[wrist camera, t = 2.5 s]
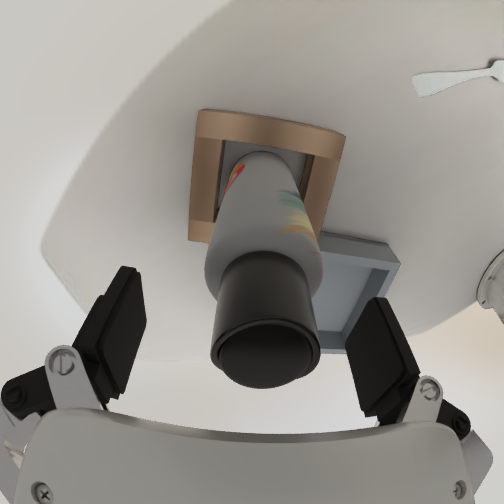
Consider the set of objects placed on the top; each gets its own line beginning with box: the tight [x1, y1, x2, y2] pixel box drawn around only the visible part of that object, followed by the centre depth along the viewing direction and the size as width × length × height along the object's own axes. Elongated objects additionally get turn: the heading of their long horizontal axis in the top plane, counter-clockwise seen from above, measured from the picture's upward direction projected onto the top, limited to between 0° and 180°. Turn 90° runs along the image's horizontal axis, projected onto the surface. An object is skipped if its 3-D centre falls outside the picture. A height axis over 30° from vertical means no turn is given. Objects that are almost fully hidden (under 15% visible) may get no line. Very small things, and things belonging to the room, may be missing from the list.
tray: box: [312, 232, 401, 354], centre depth 31 cm, size 15×15×4 cm
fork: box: [411, 60, 504, 97], centre depth 17 cm, size 3×21×3 cm, turn 117°
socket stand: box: [188, 109, 346, 243], centre depth 24 cm, size 12×12×3 cm
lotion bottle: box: [204, 151, 323, 389], centre depth 17 cm, size 6×6×20 cm
